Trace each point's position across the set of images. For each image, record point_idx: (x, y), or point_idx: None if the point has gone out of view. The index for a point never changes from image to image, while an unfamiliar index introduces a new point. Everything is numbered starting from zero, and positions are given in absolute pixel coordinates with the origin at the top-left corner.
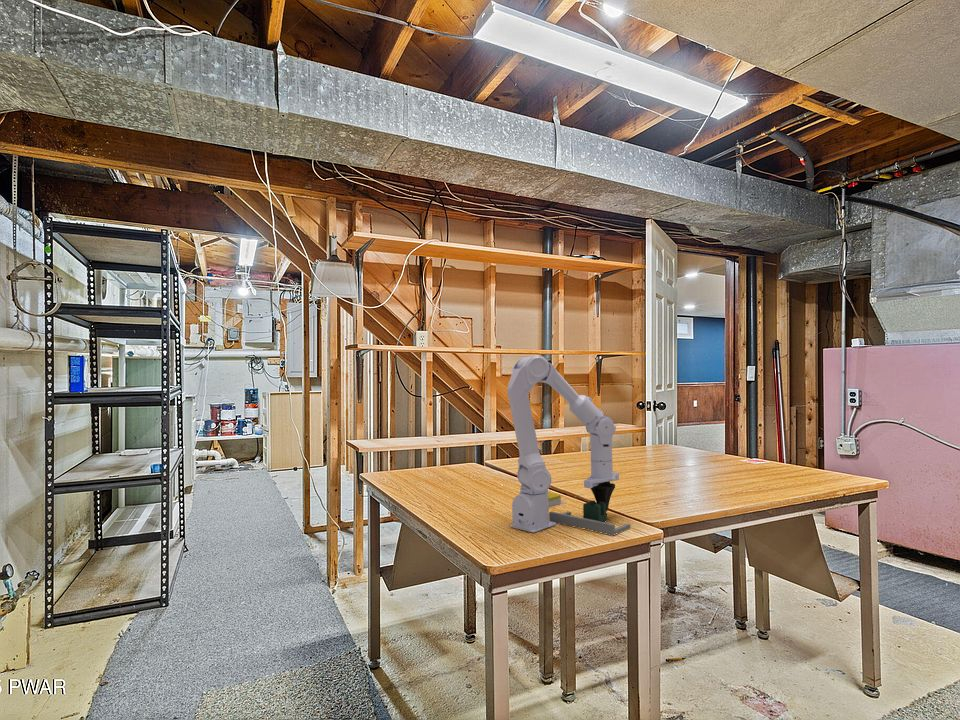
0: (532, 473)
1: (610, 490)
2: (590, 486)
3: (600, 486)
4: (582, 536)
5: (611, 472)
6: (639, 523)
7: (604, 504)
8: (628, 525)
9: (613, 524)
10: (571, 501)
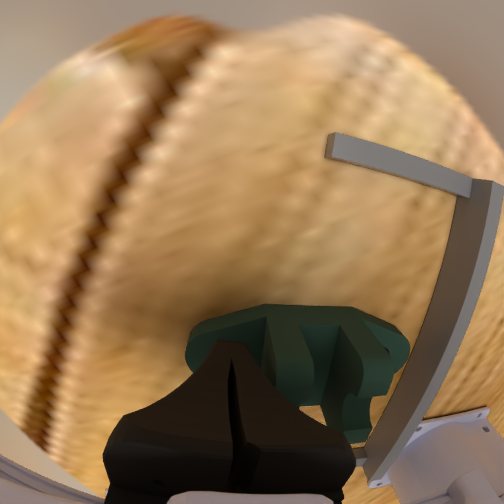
0: None
1: (222, 421)
2: (485, 479)
3: (343, 496)
4: (499, 287)
5: None
6: (198, 120)
7: (296, 364)
8: (357, 138)
9: (493, 187)
10: (80, 478)
